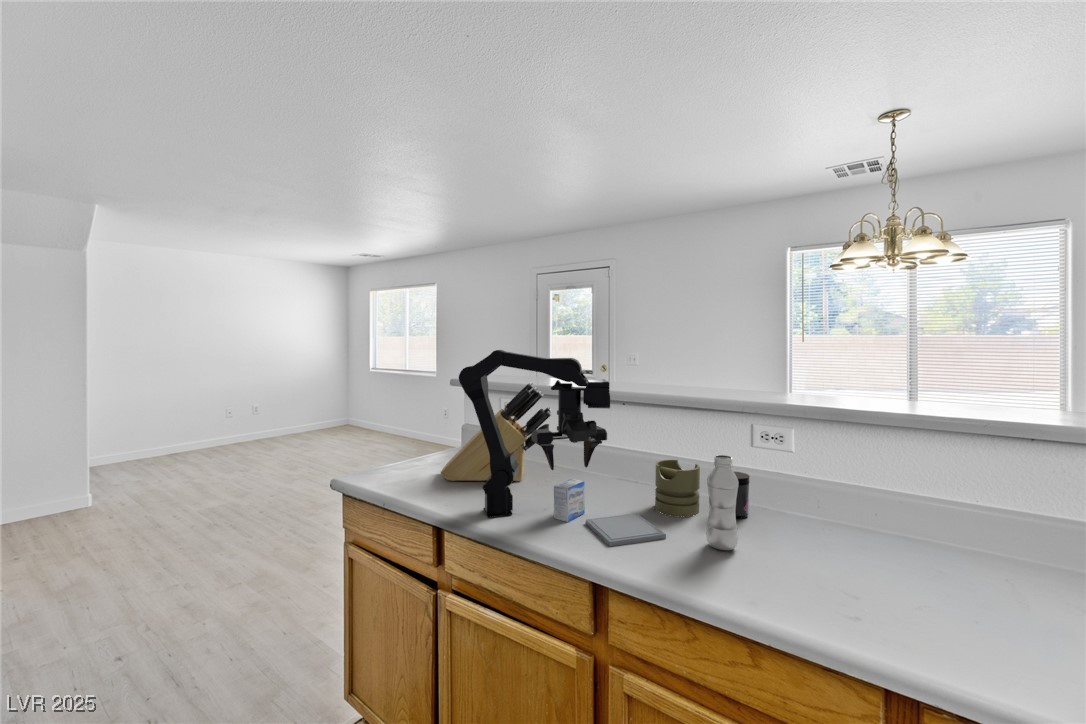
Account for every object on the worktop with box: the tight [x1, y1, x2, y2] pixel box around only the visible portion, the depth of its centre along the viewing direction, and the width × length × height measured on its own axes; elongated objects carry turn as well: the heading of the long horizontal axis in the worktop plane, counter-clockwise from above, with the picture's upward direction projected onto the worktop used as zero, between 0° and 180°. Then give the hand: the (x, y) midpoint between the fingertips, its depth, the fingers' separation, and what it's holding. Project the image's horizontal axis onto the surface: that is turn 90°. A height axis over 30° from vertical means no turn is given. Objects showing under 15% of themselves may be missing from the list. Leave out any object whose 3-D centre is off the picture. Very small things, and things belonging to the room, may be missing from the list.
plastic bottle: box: [705, 454, 739, 551], centre depth 109 cm, size 6×7×20 cm
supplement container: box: [732, 470, 751, 520], centre depth 129 cm, size 7×7×10 cm
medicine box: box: [553, 478, 586, 523], centre depth 128 cm, size 8×4×9 cm, turn 143°
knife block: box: [440, 381, 552, 482], centre depth 163 cm, size 11×35×31 cm, turn 89°
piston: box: [654, 459, 701, 518], centre depth 133 cm, size 11×12×11 cm
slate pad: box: [585, 513, 667, 547], centre depth 119 cm, size 14×14×1 cm
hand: (569, 468), depth 128 cm, fingers open, 9 cm apart
